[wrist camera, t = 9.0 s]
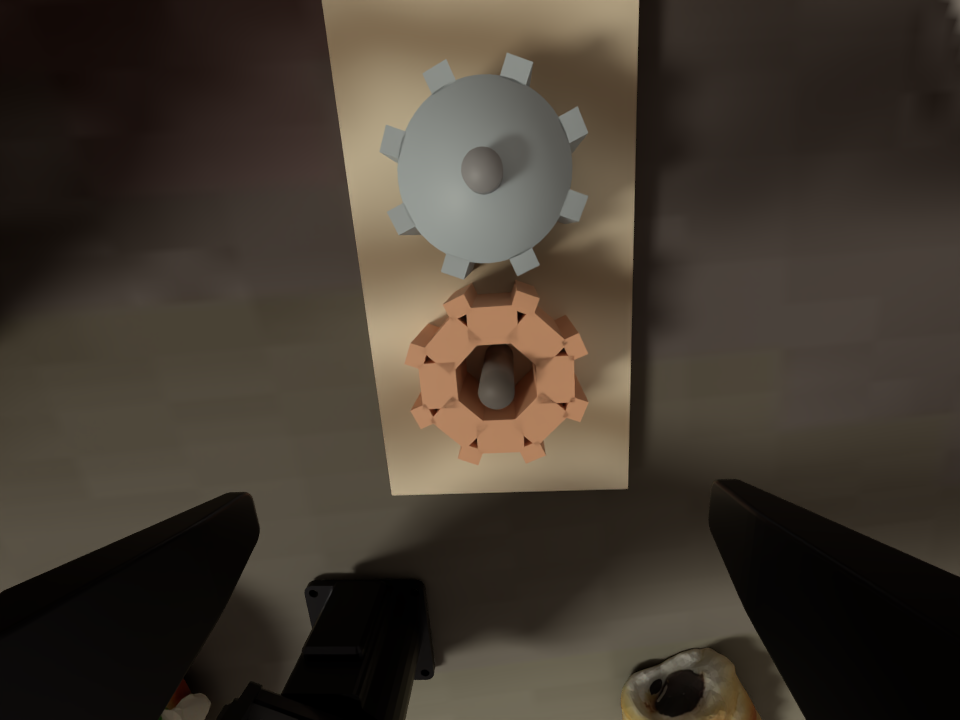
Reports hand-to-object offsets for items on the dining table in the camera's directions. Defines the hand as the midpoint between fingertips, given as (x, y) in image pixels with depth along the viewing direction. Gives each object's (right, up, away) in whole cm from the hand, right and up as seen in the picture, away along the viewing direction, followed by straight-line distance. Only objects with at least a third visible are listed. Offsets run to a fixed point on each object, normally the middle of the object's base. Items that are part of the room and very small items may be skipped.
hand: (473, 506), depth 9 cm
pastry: (+12, -17, +17) cm, 27 cm away
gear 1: (0, +10, +8) cm, 13 cm away
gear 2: (+1, +3, +10) cm, 11 cm away
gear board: (+1, +7, +10) cm, 12 cm away
